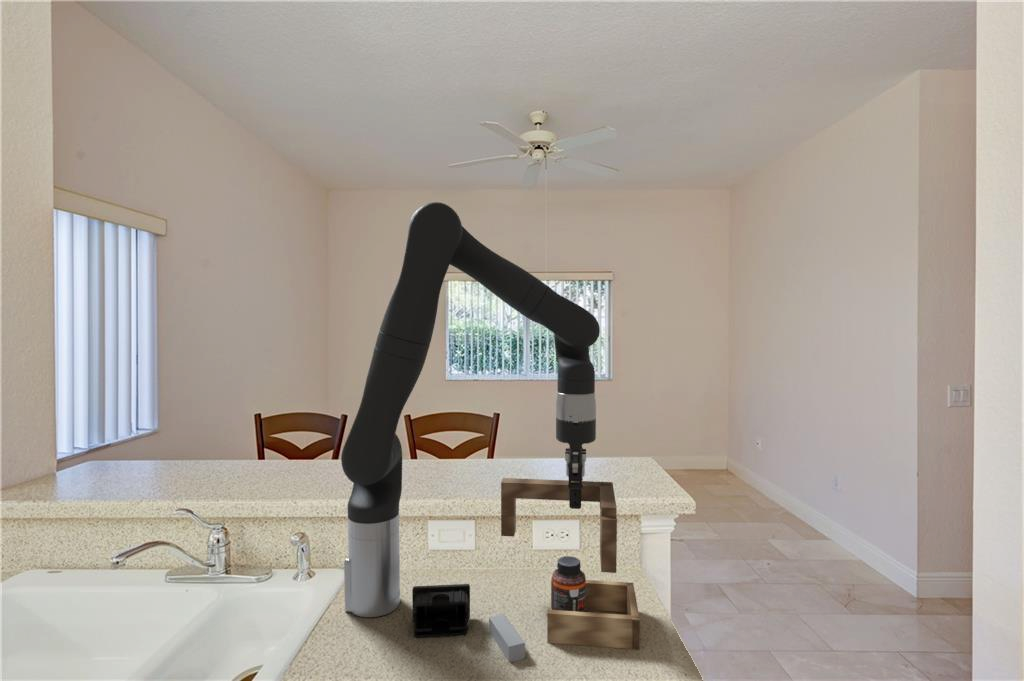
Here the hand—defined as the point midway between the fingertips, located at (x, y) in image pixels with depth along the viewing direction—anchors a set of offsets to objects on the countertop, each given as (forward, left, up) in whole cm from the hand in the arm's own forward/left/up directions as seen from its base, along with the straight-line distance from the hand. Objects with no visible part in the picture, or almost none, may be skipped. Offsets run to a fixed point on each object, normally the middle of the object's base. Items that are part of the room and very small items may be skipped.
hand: (575, 504), depth 109 cm
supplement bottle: (-1, -10, -18) cm, 21 cm away
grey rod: (-11, -17, -18) cm, 27 cm away
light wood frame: (+3, -10, -18) cm, 21 cm away
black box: (-23, -13, -18) cm, 32 cm away
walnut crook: (-4, -6, -6) cm, 10 cm away
